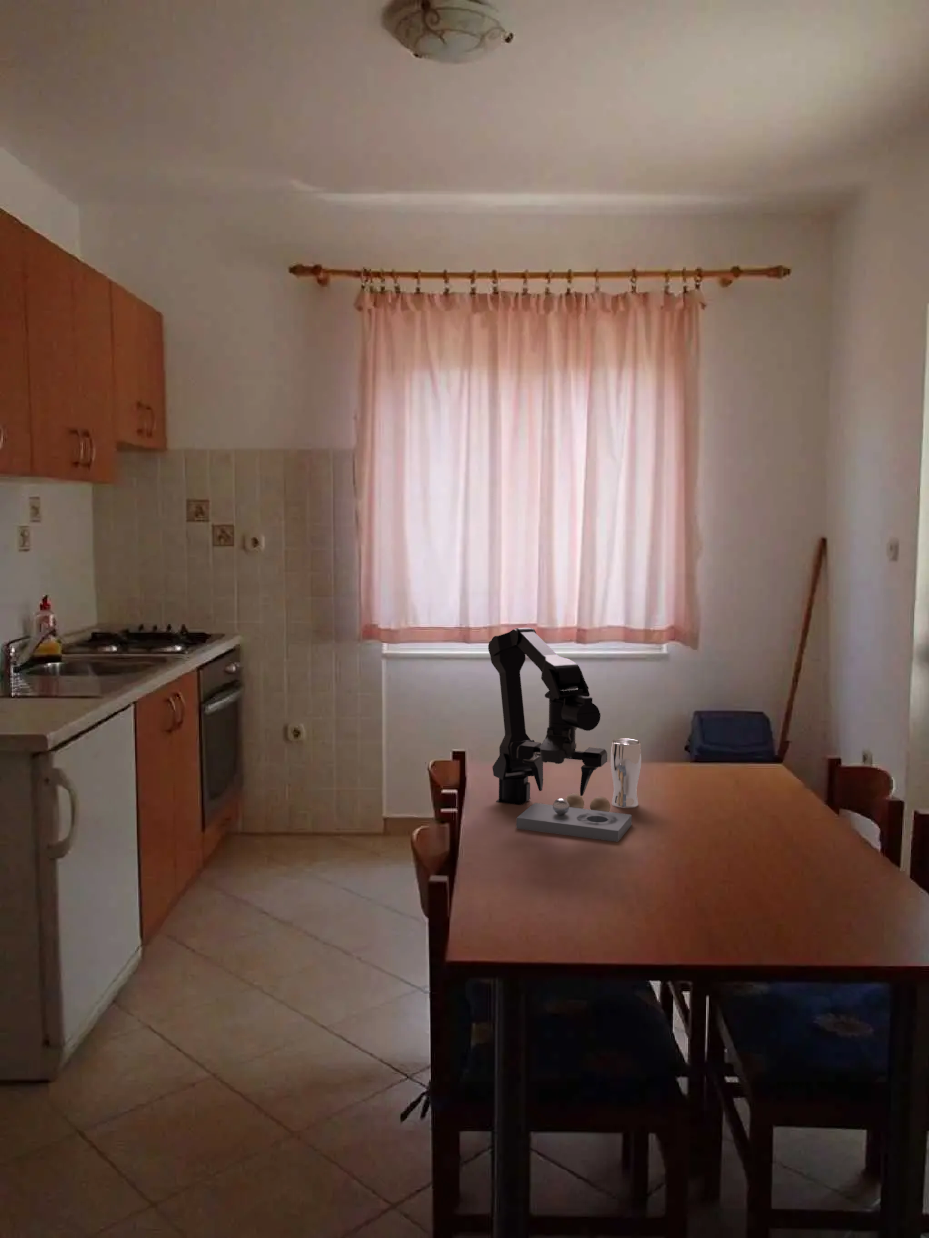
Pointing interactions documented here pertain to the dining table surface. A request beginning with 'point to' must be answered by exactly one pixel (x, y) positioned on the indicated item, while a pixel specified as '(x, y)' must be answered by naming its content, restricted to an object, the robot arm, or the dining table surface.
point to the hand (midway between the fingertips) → (561, 793)
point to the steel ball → (561, 806)
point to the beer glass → (625, 771)
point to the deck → (575, 822)
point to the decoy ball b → (600, 804)
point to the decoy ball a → (575, 800)
